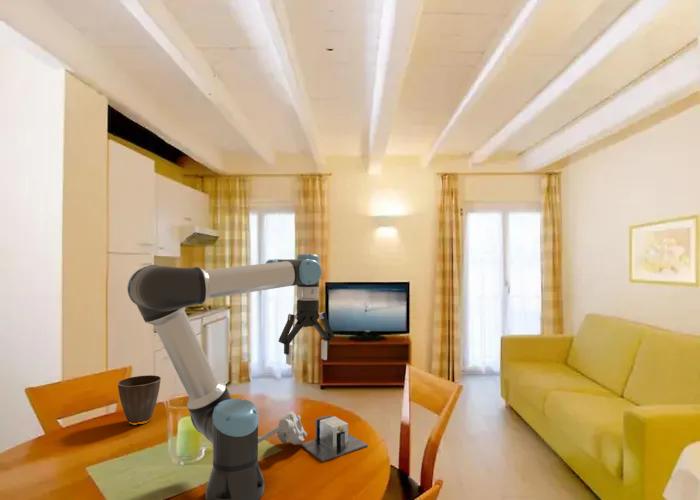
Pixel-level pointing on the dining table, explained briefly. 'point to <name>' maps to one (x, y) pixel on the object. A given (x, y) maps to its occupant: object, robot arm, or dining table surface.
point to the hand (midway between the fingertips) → (306, 361)
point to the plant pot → (139, 397)
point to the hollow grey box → (332, 432)
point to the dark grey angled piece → (326, 453)
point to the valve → (288, 430)
